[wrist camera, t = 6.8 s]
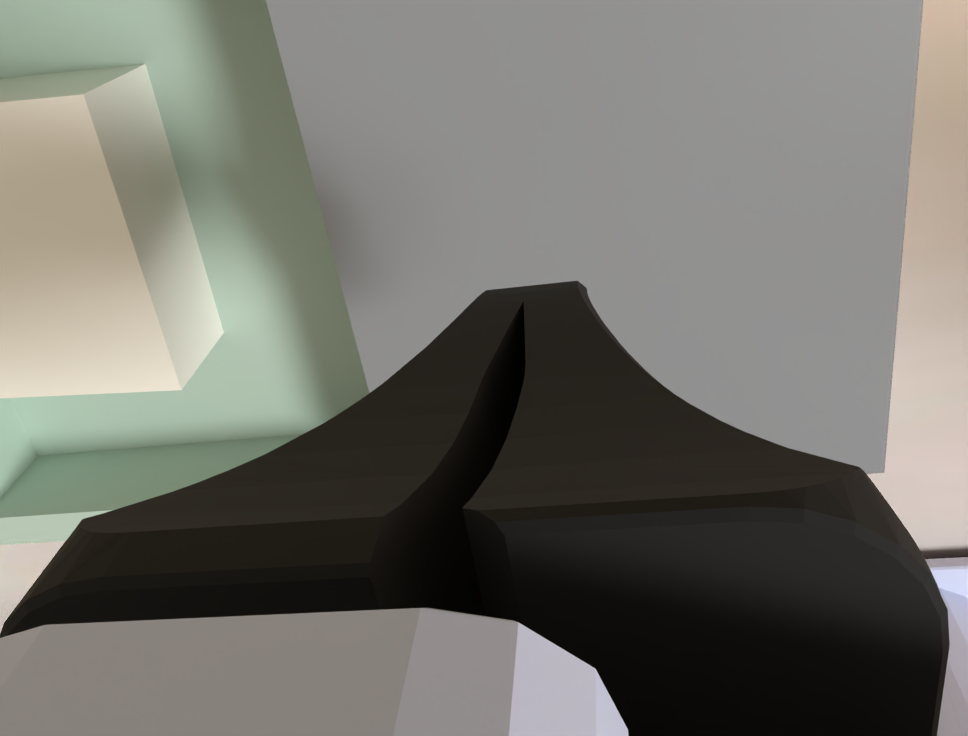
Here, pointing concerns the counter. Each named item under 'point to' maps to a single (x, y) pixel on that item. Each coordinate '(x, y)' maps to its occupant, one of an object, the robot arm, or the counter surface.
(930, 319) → the counter surface
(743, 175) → the bench plate
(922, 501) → the counter surface
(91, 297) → the tile
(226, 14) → the bin
